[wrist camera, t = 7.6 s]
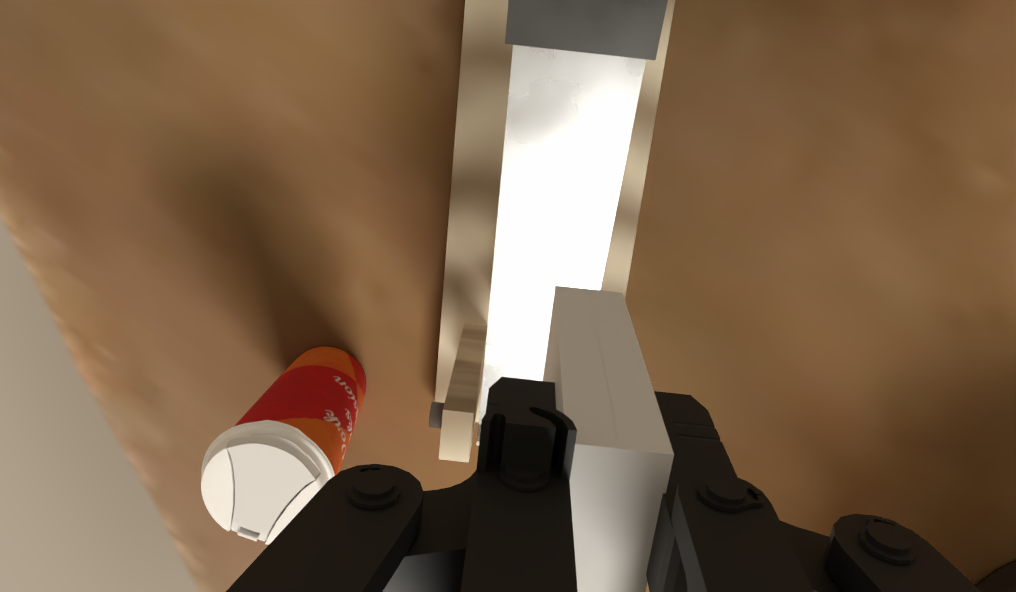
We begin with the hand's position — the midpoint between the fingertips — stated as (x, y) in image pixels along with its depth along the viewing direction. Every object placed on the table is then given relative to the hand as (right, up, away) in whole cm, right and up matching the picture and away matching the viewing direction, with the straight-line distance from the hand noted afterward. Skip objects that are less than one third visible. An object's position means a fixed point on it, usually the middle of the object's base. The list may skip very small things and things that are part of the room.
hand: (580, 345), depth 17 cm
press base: (+1, +7, +32) cm, 33 cm away
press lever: (0, +5, +18) cm, 18 cm away
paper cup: (-15, -5, +37) cm, 40 cm away
